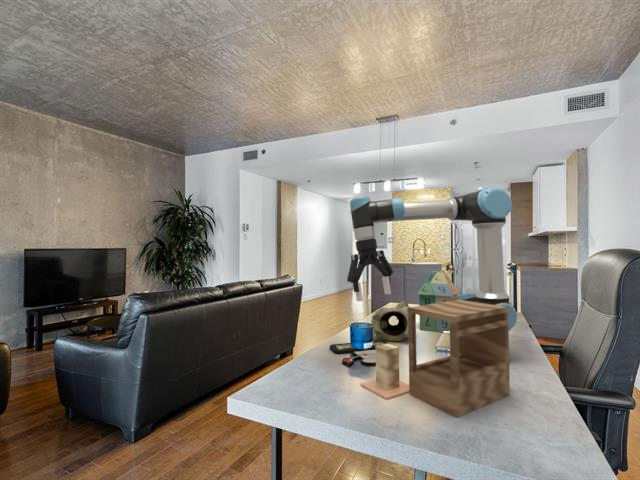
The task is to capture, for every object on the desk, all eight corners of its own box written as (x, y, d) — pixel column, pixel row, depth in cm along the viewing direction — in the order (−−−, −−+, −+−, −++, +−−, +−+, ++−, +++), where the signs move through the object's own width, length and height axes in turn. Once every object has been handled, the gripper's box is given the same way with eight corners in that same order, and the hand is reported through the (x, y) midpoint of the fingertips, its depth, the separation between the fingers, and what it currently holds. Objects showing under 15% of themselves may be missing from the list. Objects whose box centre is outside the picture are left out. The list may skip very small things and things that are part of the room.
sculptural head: (377, 304, 180) (359, 307, 158) (417, 299, 171) (404, 300, 149) (382, 339, 176) (365, 346, 155) (424, 335, 167) (411, 342, 145)
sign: (383, 339, 155) (419, 361, 126) (383, 343, 155) (420, 366, 126) (326, 345, 148) (350, 369, 119) (326, 349, 148) (350, 374, 119)
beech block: (388, 381, 109) (387, 343, 110) (399, 386, 105) (398, 347, 105) (376, 384, 107) (375, 346, 107) (387, 390, 103) (386, 350, 103)
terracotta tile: (388, 377, 114) (388, 375, 114) (416, 390, 104) (416, 388, 104) (360, 385, 108) (360, 383, 108) (386, 400, 98) (386, 397, 98)
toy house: (459, 327, 180) (458, 270, 180) (453, 334, 166) (452, 272, 167) (426, 324, 189) (425, 269, 190) (417, 330, 175) (416, 271, 176)
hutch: (461, 377, 114) (460, 299, 114) (509, 395, 100) (508, 306, 100) (409, 394, 101) (408, 307, 101) (456, 417, 87) (454, 316, 88)
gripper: (383, 237, 136) (391, 291, 134) (331, 243, 122) (340, 303, 121) (397, 235, 129) (405, 291, 128) (344, 241, 115) (354, 304, 114)
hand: (374, 297), depth 124 cm, fingers open, 13 cm apart
